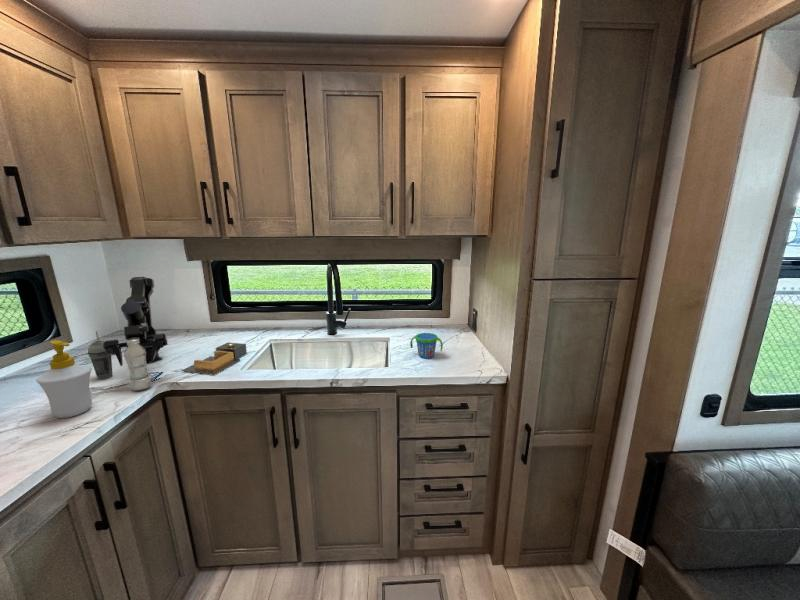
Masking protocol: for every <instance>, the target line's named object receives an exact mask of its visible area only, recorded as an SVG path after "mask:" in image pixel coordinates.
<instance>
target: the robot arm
mask: <svg viewBox="0 0 800 600" xmlns="http://www.w3.org/2000/svg"><path fill="white" fill-rule="evenodd" d="M128 281H129V288H130V289H131V291H130V296H129V297H128V298H126V300H125V303H123V304H122V305H121V306H120V310H121V312H122V315H123V316H124V319H125V320H126V321H127V326H124V327H123V331H124V336H125V341H122V342H121V341H119V340H118V339H109V340H104V341H105V342H104V343H103V348H104V349H105V351H106V352H107V353H108V354H111V356H115V357H116V359H117V361H118V363H119V366H120V367H122V366H123V364H124V361H123V352H122V348H127V347H128V345H127V341H126V340H127V339H129V338H135V337H138V338H139V341H140V343H139V344H140V345H141V346H143V347H144V348H145V350H146V364H149V363H153V362H157V361H161V360H162V359H163V357H161V356H160V355H159V352H160V350H161V349H163V348H164V346H168V337H167V334H166V333H163V332H162V333H158V332H157V331H156V329H155V328H154V327H153V319H152V310H151V309H152V308H151V299H150V298H151V296H152V294H153V293H154V288H155V280H154V279H152V278H151V277H145V276H134V277H131V279H129V280H128Z"/></svg>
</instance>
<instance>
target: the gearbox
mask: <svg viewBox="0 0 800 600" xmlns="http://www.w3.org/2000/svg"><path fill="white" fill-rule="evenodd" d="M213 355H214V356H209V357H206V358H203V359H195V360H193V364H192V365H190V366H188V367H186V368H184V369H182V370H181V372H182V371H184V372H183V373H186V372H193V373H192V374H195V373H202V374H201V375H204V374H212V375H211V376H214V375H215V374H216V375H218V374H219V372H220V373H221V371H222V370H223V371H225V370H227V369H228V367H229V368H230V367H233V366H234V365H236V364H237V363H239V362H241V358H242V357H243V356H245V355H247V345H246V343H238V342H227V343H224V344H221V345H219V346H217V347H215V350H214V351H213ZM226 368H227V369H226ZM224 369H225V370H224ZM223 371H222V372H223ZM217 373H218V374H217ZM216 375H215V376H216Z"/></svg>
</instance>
